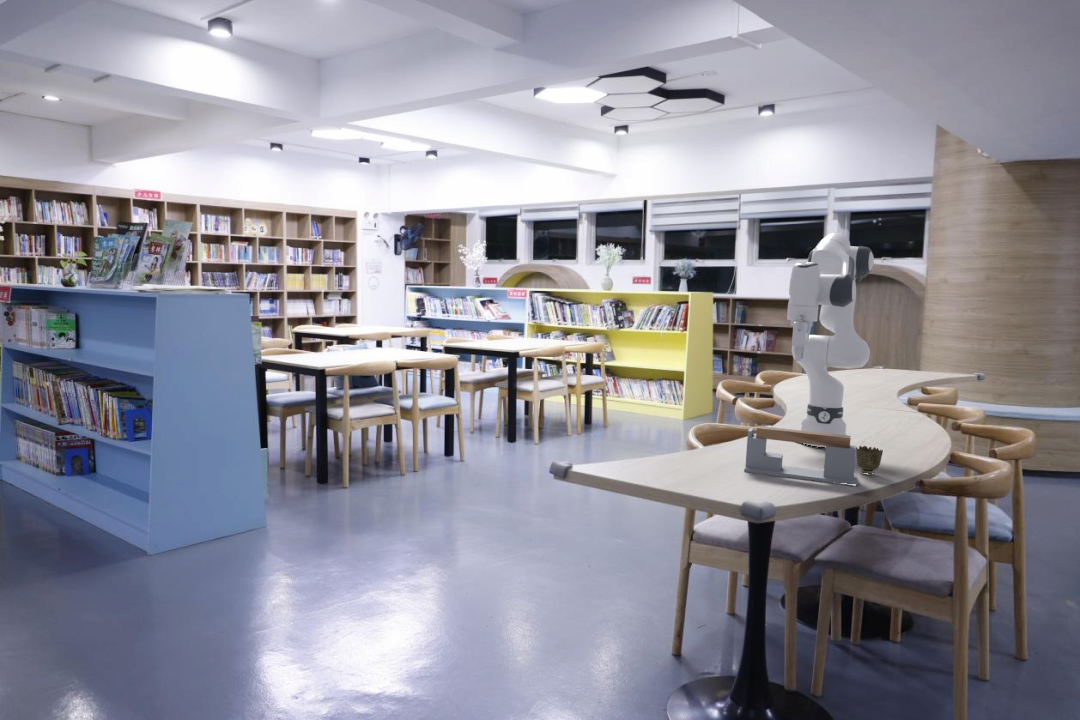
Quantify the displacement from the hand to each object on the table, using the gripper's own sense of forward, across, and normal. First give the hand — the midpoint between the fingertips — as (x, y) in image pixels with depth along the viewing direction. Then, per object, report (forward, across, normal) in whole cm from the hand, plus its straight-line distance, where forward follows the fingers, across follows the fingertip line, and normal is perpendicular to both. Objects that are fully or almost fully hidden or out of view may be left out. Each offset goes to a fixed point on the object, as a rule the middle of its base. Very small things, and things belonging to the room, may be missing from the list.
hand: (798, 359), depth 228 cm
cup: (+33, 0, -22) cm, 40 cm away
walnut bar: (+27, -12, -2) cm, 29 cm away
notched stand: (+33, -12, -4) cm, 35 cm away
